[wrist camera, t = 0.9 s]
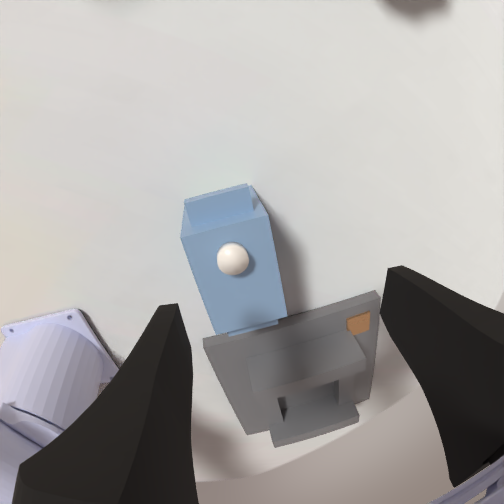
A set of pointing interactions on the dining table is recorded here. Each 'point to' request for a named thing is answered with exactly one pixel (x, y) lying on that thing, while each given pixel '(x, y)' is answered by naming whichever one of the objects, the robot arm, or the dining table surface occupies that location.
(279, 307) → the block
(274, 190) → the dining table surface
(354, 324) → the board
